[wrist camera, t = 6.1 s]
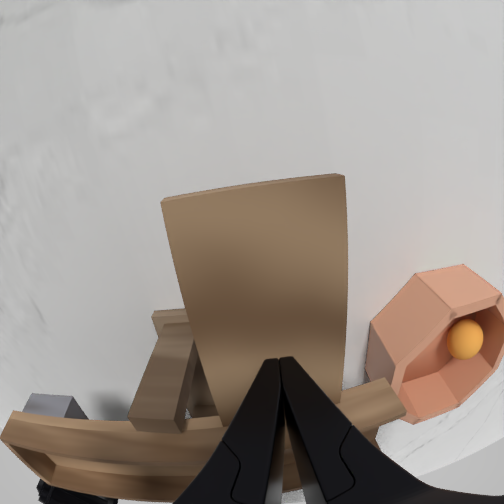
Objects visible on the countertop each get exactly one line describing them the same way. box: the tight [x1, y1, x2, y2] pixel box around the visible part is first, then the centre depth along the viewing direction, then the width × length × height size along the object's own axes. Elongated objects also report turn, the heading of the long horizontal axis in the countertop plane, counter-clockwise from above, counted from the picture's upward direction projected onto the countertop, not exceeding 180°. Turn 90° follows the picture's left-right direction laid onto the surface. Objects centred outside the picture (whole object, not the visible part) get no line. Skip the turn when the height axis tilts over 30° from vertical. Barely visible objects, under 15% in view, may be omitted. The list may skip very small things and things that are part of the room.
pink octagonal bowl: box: [365, 264, 504, 425], centre depth 18 cm, size 12×12×5 cm
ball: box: [447, 319, 483, 360], centre depth 18 cm, size 3×3×3 cm
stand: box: [127, 309, 219, 434], centre depth 17 cm, size 11×4×9 cm, turn 7°
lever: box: [0, 173, 407, 503], centre depth 12 cm, size 17×24×5 cm
